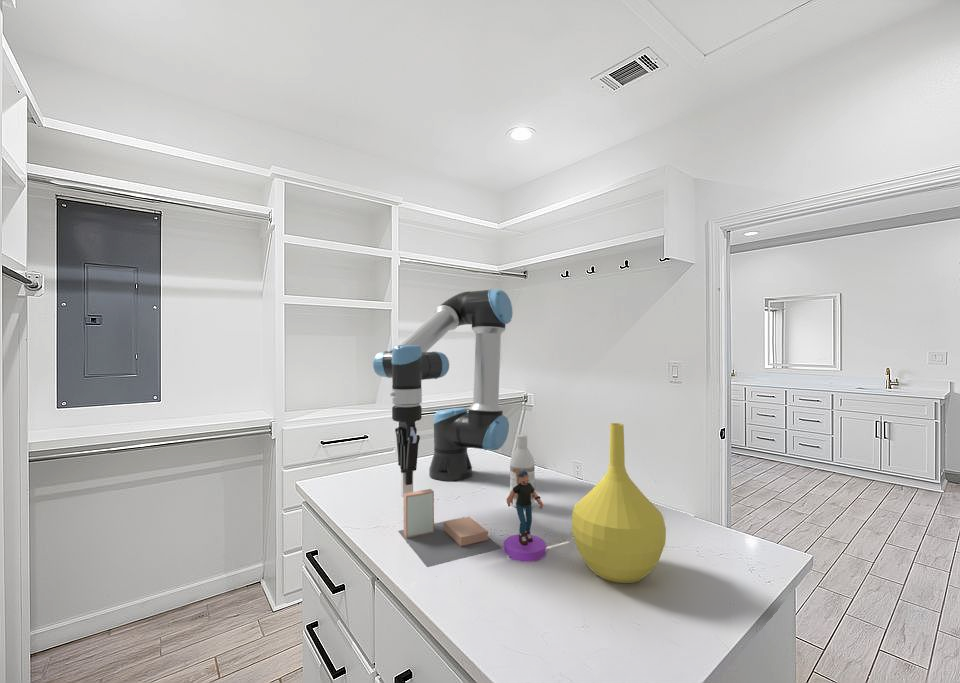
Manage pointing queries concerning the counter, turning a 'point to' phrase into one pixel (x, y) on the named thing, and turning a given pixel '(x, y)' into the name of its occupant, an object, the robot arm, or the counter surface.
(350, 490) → the counter surface
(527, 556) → the figurine
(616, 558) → the vase
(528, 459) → the bath foam
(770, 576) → the counter surface
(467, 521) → the tile
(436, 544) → the mat
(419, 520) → the tile
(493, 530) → the counter surface
